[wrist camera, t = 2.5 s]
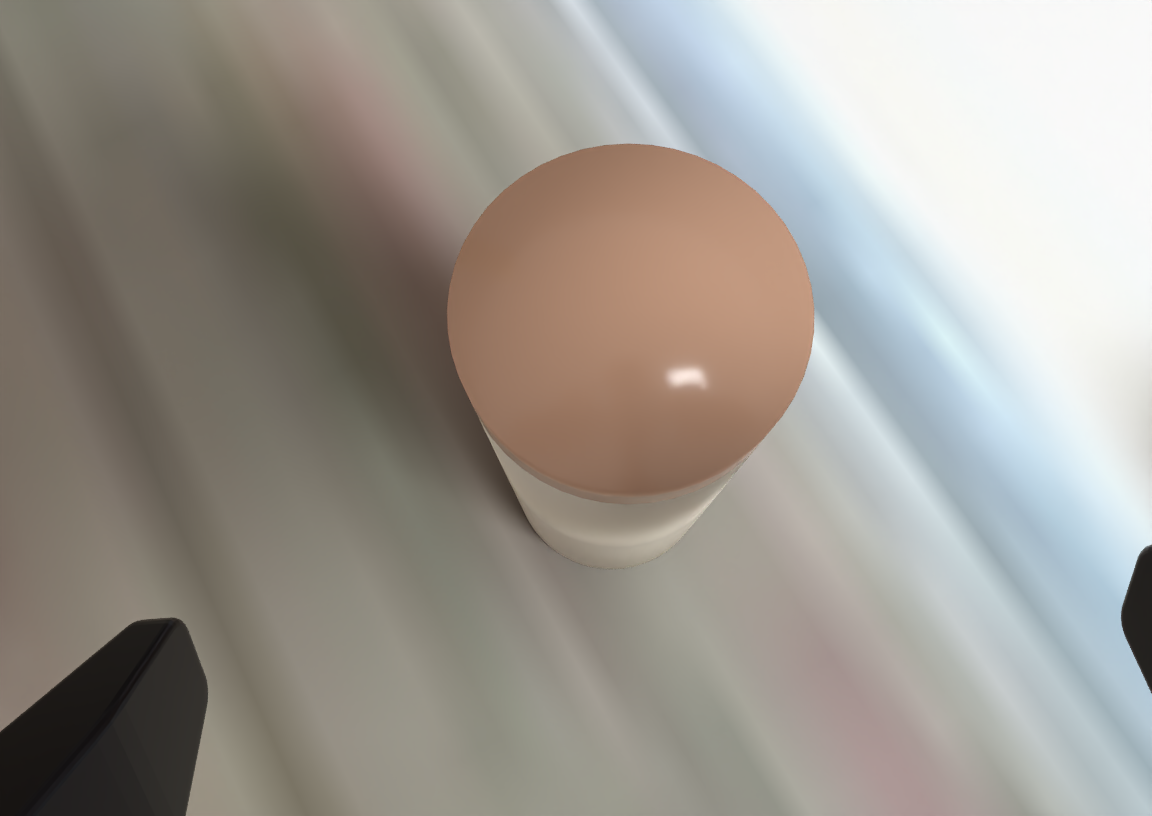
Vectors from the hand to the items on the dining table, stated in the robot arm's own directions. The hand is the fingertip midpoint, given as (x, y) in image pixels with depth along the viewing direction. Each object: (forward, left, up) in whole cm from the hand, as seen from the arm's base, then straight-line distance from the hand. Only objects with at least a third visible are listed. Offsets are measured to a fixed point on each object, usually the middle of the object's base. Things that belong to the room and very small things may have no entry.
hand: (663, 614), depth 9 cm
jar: (+1, +3, -11) cm, 11 cm away
